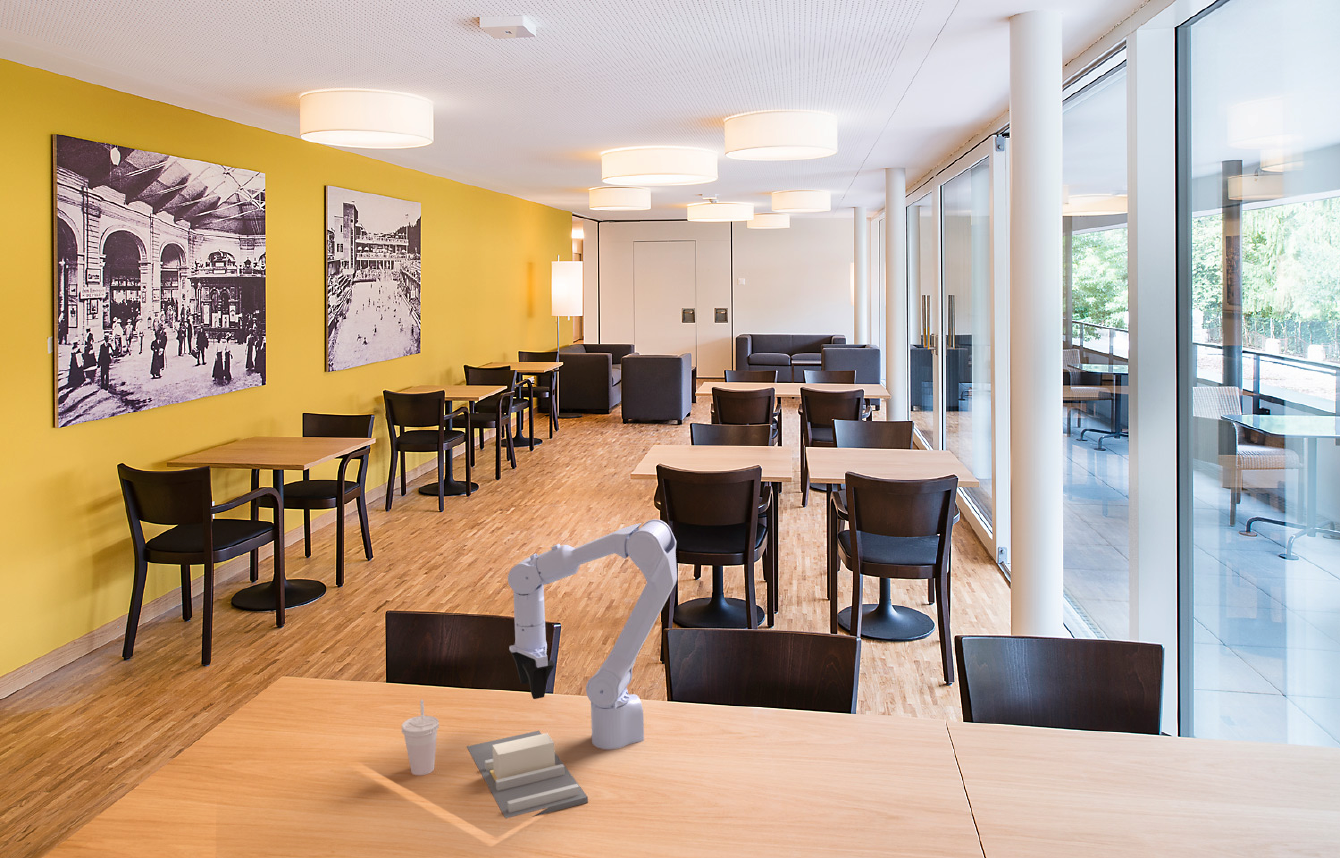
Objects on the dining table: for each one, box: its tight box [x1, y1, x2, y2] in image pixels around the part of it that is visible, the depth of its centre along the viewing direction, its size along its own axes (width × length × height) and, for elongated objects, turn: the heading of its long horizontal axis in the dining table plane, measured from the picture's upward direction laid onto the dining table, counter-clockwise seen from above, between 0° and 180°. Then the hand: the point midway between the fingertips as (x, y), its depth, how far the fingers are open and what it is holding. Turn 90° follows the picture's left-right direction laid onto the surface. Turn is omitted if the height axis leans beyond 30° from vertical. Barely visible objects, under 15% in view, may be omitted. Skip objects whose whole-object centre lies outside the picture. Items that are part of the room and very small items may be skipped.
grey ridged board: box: [466, 730, 589, 819], centre depth 161 cm, size 14×27×2 cm, turn 25°
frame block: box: [492, 732, 556, 779], centre depth 160 cm, size 10×4×5 cm, turn 115°
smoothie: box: [401, 699, 440, 776], centre depth 161 cm, size 6×6×14 cm
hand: (532, 690), depth 174 cm, fingers open, 7 cm apart
